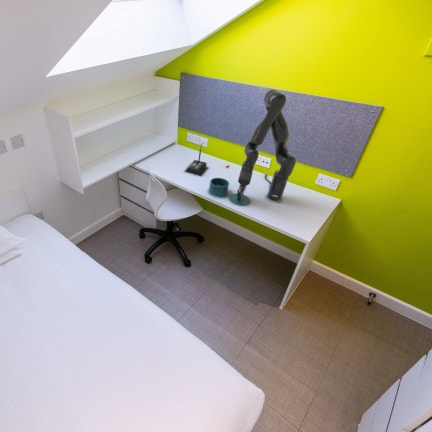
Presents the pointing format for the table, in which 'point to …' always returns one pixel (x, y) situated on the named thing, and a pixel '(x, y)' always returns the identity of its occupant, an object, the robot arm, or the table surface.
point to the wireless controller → (197, 166)
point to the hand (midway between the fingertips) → (239, 198)
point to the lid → (243, 201)
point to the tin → (218, 187)
